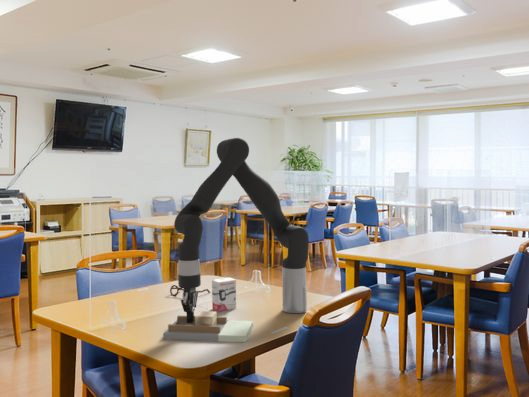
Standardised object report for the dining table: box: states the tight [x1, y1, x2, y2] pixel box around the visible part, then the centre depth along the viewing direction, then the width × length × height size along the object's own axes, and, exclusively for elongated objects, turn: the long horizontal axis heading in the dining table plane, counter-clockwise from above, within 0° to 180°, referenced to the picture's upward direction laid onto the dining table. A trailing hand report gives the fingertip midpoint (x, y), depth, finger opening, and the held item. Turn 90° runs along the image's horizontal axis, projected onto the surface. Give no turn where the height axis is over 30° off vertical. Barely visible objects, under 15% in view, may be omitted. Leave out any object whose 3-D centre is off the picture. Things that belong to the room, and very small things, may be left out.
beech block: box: [194, 310, 218, 326], centre depth 175 cm, size 6×6×4 cm
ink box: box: [211, 277, 237, 312], centre depth 205 cm, size 8×5×12 cm, turn 123°
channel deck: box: [162, 314, 254, 343], centre depth 175 cm, size 28×16×4 cm, turn 83°
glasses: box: [169, 284, 211, 297], centre depth 229 cm, size 13×13×5 cm
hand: (190, 322), depth 176 cm, fingers closed
